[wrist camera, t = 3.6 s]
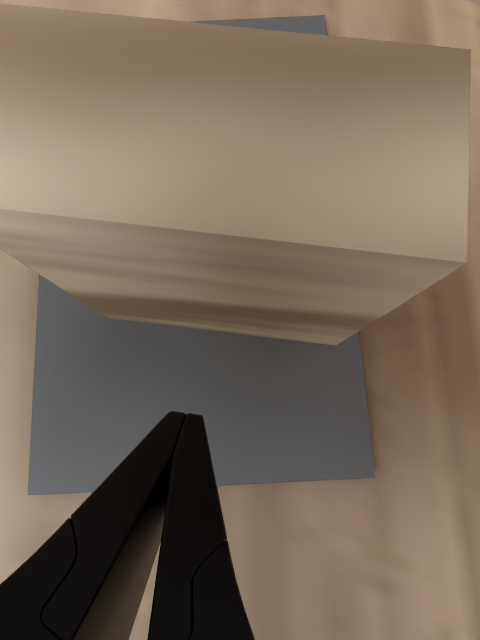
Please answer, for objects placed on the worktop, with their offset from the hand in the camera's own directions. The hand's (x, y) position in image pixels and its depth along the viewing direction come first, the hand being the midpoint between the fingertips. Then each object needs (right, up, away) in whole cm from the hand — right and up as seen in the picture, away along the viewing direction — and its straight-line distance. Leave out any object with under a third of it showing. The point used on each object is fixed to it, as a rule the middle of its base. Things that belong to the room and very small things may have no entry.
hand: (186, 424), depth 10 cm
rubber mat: (-1, +7, +9) cm, 11 cm away
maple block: (+1, +4, +8) cm, 9 cm away
